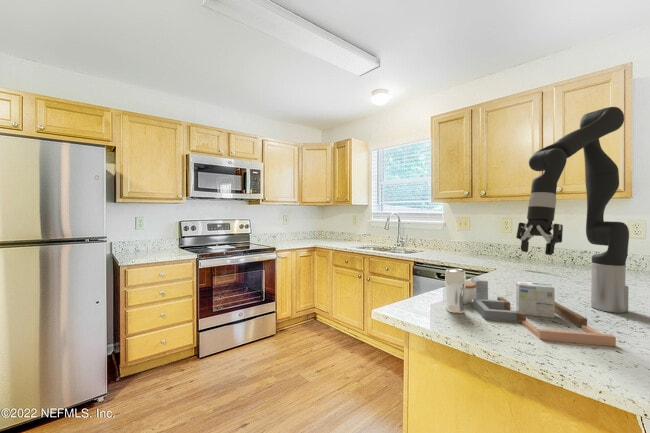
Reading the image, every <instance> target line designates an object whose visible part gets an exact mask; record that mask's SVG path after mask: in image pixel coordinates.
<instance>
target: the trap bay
mask: <svg viewBox="0 0 650 433" xmlns="http://www.w3.org/2000/svg"><path fill="white" fill-rule="evenodd" d="M472 302H473V304H472V307H473V308H474V309H475V311H477V312H478V313H479V315H480V316H481V317H482V318H483V319H484V320H488V321H502V322H503V321H504V322H514V323H516V322H517V323H518V313H517V312H516V311H517V310H511V309H510V310H504V302H503V301H500V300H497V299H488V300H485V299H474V298H473V300H472Z"/></svg>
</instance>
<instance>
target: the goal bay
mask: <svg viewBox="0 0 650 433" xmlns="http://www.w3.org/2000/svg"><path fill="white" fill-rule="evenodd" d="M521 325H522V326H524V327H525V328H526V329H527V330H528V331H530V332H531V333H532V334H533V335H534V336H535V337H536V338H538V339H539V340H543V341H544V340H545V341H553V342H565V343H575V344H586V345H587V344H588V345H598V346H609V347H610V346H611V347H616V346H617V345H616V344H617V340H616V339H617V337H616V336H615V335H612V334H605V333H601V332H599V331H597V330H596V329H594V328H592V327H591V326H589V325H587V326H585V325H582V328H581V330H582V331H583V332H580V331H569V330H568V331H567V330H559V329H557V330H556V329H545V328H537V327H536V326H535V325H533V324H532V323H530V322H529V321H528V320H526V321H522V323H521Z"/></svg>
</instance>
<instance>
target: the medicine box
mask: <svg viewBox="0 0 650 433" xmlns="http://www.w3.org/2000/svg"><path fill="white" fill-rule="evenodd" d="M470 279H471V280H470V282H474V283H476V293H475V297H474V298H473V299H485V300H489V282H488V280H486V279H484V278H483V277H481V276H471V278H470Z"/></svg>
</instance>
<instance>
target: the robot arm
mask: <svg viewBox="0 0 650 433" xmlns="http://www.w3.org/2000/svg"><path fill="white" fill-rule="evenodd" d="M624 121H625V114H624V112H623V110H622V109H621V108H620V107H617V106H609V107H604V108H601V109H598V110H594V111H591V112H588V113H585V114H583V116H582V117H581V118H580V121H579V128H577V129H575V130H574V131H572V132H569V133H566V134H565V135H563V136H562V137H560V138H559V139H558V140H556V141H555V142H554V143H552V144H549V145H547V146H545V147H543V148H540V149H538V150H537V151H535V152H534V153H532V154H531V156H530V157H529V159H528V166H529V167H530V169H531V170H533V171H535V172H543V173H542V174H540V175H538V176H536V177H534V178H533V179H532V182H531V187H530V188H531V189H530V196H529V200H528V207H527V216H526V219H527V222H526V223H525V222H519V223H518V227H517V232H516V235H515V236H516V239H517V240H518V239H519V241H521V243H520V250H521V252H523V253H528V252H529V244H530V242H529V241H530V240H531V239H532V238H533V237H535V236H536V237H543V238H544V240H545V241H546V245H545V253H544V254H545V255H547V256H552V255H553V254H554V253H555V245H556V244H558V243H562V242H563V230H564V228H563V226H564V225H563V224H561V223H553V222H554V221H555V214H556V204H557V189H558V182H559V180H560V178H561V176H562V174H563V171H564V169H565V167H566V164H567V161H568V160H567V159H569V158H570V157H572V156H573V155H575V154H576V153H578V152H579V151H580V150H582V149H583V150H582V151H583V158H584V178H585V190H586V203H587V204H586V222H585V235H586V239H587V240H588V242H589V243H590V244H591V245H596V246H607V250H606V251H605V252H602V253H596V254H593V255H592V256H591V280H590V282H591V284H590V288H591V289H590V292H591V293H590V306H591V308H594V309H596V310H599V311H603V312H608V313H617V314H619V313H620V314H623V313H629V290H630V289H629V286H628V285H626V271H627V270H626V266H627V265H626V264H627V262H626V261H627V258H628V253H629V244H630V243H629V241H630V231H629V230H630V229H629V227H628V225H627V224H626V223H624V222H622V221H605V219H604V215H605V210H606V207H607V205H608V204H609V202H610V201H611V199H612V198H613V196H614V195H615V194H616V193H617V191H618V190H619V186H620V176H619V175H620V174H619V167H618V165H617V164H616V162H614V160H613V159H612V158H611V157H610V156H609V155H608V154H607V153H606V152H605V151H604V149H603V148H602V146H601V143H600V139H601V138H602V137H604V136H607V135H609V134H611V133H613V132H616V131H618V130H619V129H621V128H622V126H623V124H624V123H625V122H624Z"/></svg>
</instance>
